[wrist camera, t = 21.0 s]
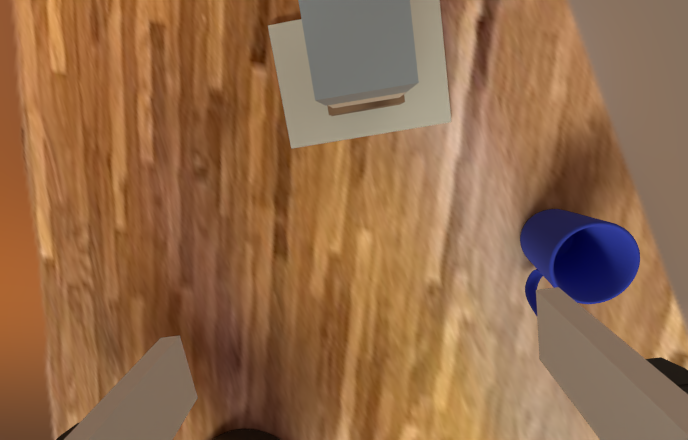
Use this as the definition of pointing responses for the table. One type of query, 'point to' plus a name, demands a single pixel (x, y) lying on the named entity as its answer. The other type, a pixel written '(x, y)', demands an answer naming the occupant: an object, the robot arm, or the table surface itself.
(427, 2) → the plate
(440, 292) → the table surface
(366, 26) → the brick
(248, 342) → the table surface
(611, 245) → the mug
